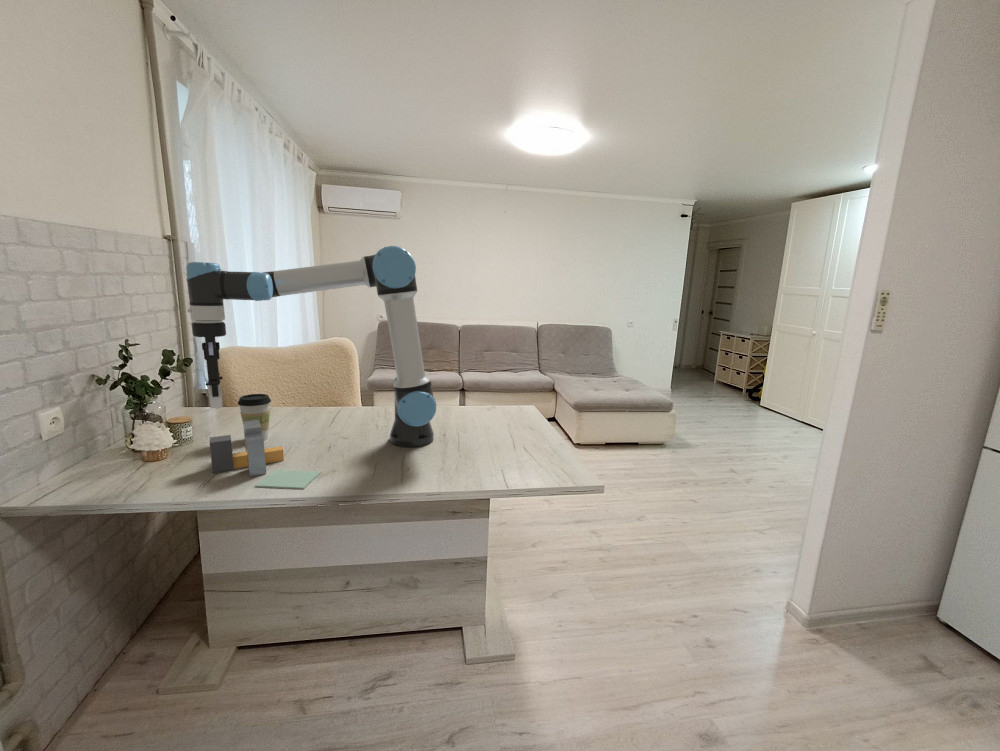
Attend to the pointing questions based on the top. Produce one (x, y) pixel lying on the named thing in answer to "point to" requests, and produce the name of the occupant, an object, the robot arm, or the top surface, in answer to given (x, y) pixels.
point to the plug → (236, 455)
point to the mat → (288, 479)
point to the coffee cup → (256, 410)
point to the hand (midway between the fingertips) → (216, 405)
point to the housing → (254, 447)
